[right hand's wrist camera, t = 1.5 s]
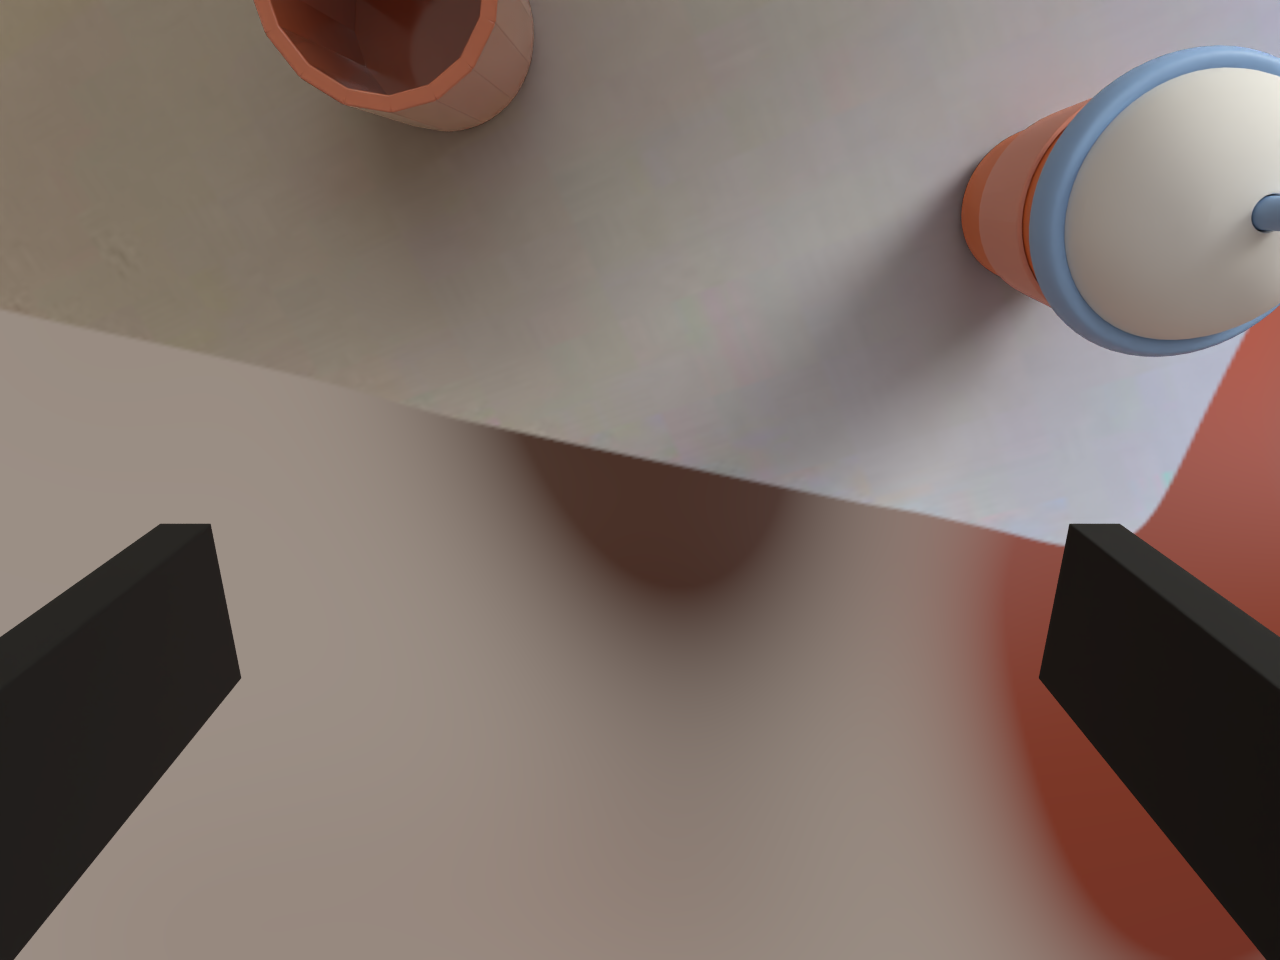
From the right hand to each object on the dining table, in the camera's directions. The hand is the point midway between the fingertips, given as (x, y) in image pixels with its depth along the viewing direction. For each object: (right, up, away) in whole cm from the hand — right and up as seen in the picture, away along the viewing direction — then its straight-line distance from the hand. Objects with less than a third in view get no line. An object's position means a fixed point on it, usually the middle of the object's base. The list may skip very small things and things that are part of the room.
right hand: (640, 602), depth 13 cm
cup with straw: (+17, +14, +22) cm, 31 cm away
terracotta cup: (-8, +20, +20) cm, 29 cm away
